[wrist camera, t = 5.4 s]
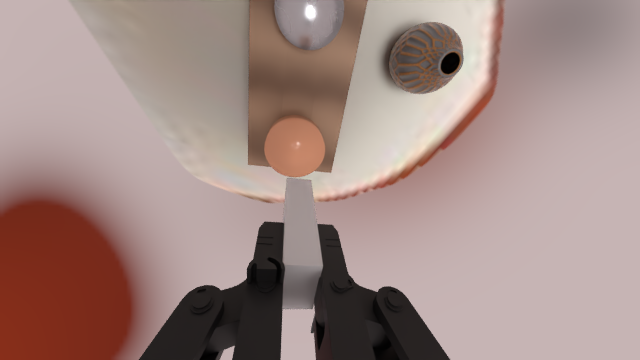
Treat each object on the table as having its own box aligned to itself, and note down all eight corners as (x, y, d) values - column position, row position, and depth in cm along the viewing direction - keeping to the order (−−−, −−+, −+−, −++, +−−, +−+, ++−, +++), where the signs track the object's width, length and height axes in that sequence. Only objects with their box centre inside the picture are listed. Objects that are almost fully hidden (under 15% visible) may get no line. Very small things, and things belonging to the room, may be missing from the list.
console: (260, -47, 22) (250, -75, 17) (358, -22, 24) (376, -41, 19) (255, 145, 32) (248, 164, 27) (325, 153, 34) (330, 172, 28)
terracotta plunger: (271, 100, 25) (265, 116, 19) (322, 108, 26) (330, 125, 20) (269, 148, 28) (263, 174, 22) (314, 153, 29) (320, 179, 23)
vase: (447, 46, 28) (504, 46, 21) (411, 97, 31) (449, 114, 23) (405, 11, 26) (452, -2, 18) (370, 70, 29) (398, 80, 21)
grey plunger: (280, -23, 22) (276, -46, 17) (337, -10, 23) (351, -27, 17) (276, 44, 25) (272, 43, 19) (327, 53, 26) (336, 55, 20)
